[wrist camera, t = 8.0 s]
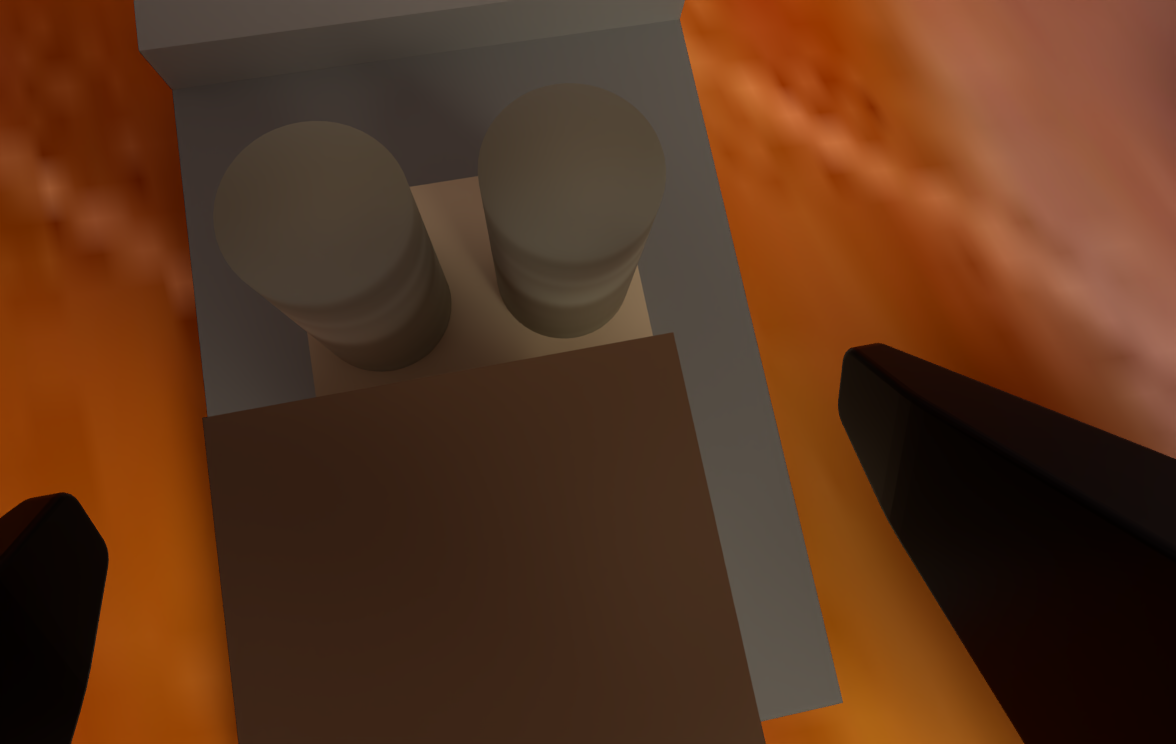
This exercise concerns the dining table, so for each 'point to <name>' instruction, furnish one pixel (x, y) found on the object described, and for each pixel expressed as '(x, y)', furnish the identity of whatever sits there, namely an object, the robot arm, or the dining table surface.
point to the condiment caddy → (470, 451)
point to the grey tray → (451, 150)
